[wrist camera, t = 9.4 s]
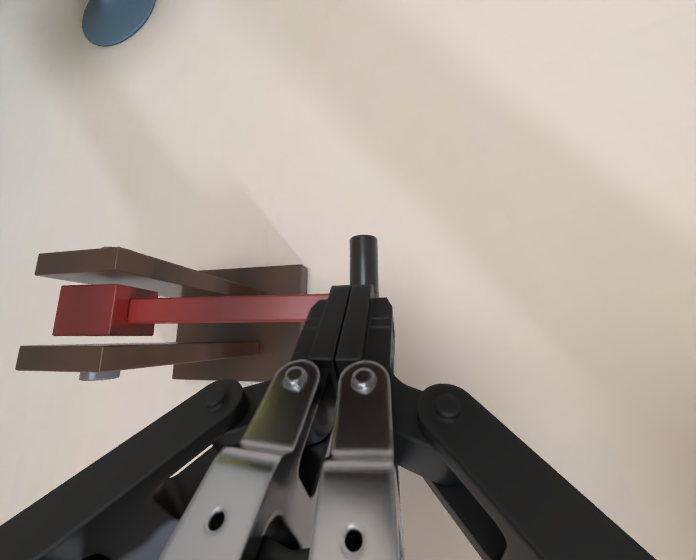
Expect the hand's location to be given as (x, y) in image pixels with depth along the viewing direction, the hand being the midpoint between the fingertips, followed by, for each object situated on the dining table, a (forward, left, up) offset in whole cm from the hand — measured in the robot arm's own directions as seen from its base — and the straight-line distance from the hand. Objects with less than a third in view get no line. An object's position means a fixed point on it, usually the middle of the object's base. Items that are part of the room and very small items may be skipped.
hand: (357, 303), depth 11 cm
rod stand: (+12, 0, -12) cm, 17 cm away
